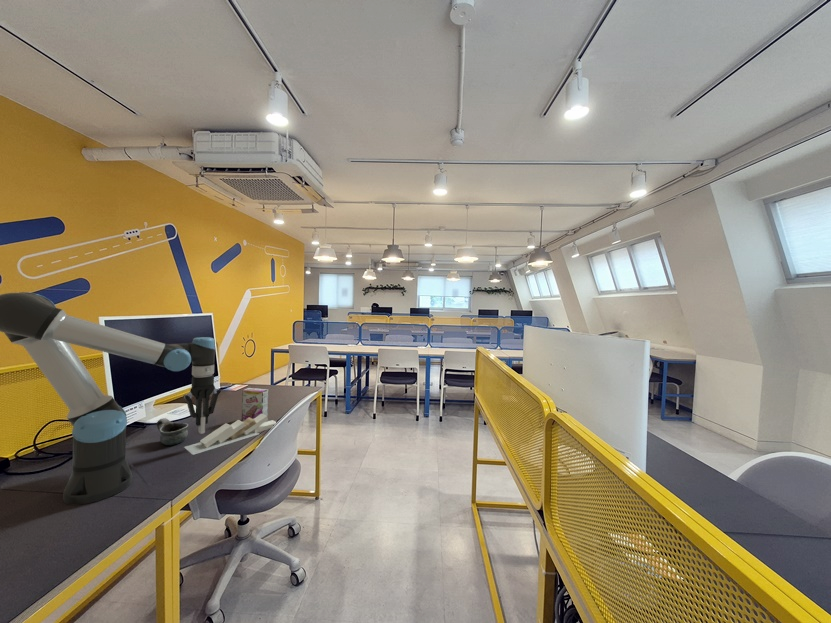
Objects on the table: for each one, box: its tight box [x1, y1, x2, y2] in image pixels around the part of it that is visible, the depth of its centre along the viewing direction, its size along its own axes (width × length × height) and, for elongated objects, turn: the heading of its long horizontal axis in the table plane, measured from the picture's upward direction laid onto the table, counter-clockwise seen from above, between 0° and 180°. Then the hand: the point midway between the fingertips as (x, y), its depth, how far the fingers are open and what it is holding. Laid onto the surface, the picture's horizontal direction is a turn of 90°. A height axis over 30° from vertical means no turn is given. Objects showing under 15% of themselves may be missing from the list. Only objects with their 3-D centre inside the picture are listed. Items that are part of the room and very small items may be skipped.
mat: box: [183, 431, 260, 456], centre depth 133 cm, size 26×10×1 cm, turn 144°
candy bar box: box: [241, 387, 269, 422], centre depth 155 cm, size 11×5×16 cm, turn 84°
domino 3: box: [243, 414, 269, 435], centre depth 143 cm, size 2×5×11 cm
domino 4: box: [252, 419, 277, 433], centre depth 147 cm, size 2×5×11 cm
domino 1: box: [199, 422, 233, 448], centre depth 131 cm, size 2×5×11 cm
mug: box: [156, 417, 189, 446], centre depth 129 cm, size 10×12×10 cm
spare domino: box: [229, 417, 256, 440], centre depth 139 cm, size 2×5×11 cm
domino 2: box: [218, 419, 245, 443], centre depth 135 cm, size 2×5×11 cm
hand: (201, 432), depth 126 cm, fingers closed
